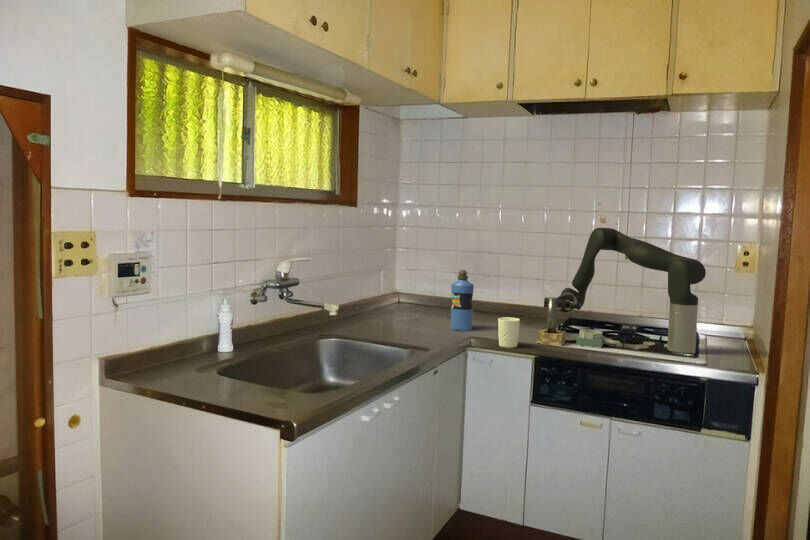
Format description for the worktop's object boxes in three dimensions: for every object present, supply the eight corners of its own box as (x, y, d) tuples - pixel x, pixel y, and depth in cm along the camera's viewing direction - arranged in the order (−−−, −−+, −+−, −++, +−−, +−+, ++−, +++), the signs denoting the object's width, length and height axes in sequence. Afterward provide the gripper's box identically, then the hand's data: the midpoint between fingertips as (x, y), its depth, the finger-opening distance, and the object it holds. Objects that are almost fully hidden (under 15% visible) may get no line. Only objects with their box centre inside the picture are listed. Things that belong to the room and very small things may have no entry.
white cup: (514, 343, 228) (515, 317, 227) (522, 347, 220) (523, 320, 219) (494, 343, 226) (495, 317, 225) (501, 348, 218) (502, 321, 218)
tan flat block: (565, 341, 233) (565, 331, 232) (561, 345, 225) (561, 335, 224) (541, 339, 236) (542, 329, 236) (536, 343, 228) (537, 332, 228)
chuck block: (620, 345, 227) (621, 332, 227) (618, 349, 219) (619, 336, 219) (579, 341, 233) (580, 328, 233) (576, 345, 225) (576, 332, 225)
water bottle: (463, 326, 261) (464, 268, 259) (477, 330, 253) (478, 270, 251) (445, 328, 256) (447, 269, 254) (459, 332, 248) (461, 271, 246)
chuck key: (560, 339, 231) (561, 298, 229) (558, 341, 228) (560, 299, 226) (544, 338, 233) (545, 296, 232) (542, 339, 230) (543, 298, 229)
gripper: (549, 292, 257) (541, 296, 242) (584, 294, 251) (578, 298, 236) (549, 310, 257) (541, 315, 242) (583, 312, 251) (577, 317, 237)
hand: (559, 306), depth 239 cm, fingers open, 8 cm apart
